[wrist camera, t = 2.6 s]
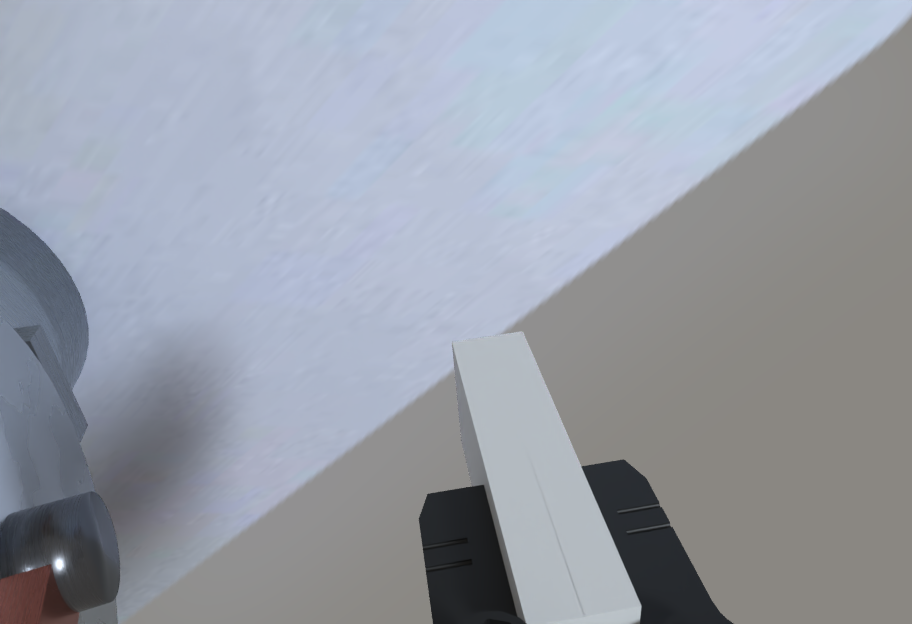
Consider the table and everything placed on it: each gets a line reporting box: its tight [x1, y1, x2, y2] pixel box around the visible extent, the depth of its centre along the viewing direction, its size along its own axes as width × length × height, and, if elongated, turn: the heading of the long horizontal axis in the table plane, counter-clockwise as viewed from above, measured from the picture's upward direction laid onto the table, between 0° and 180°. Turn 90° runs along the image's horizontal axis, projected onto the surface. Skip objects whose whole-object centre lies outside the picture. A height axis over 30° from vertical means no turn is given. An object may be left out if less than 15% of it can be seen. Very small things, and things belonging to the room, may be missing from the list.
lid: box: [0, 317, 120, 624], centre depth 17 cm, size 15×14×3 cm
